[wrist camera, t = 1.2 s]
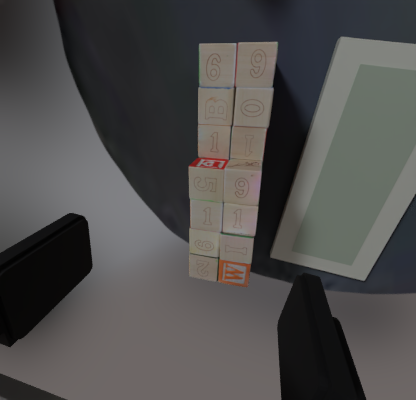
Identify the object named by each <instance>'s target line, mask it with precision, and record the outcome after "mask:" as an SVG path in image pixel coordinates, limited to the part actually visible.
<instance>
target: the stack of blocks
mask: <svg viewBox="0 0 416 400" xmlns="http://www.w3.org/2000/svg"><path fill="white" fill-rule="evenodd" d="M277 49H278V42H239V43H218V44H199V88H198V123H199V124H198V155H199V158H197V159H196V160H195V161H194V162H193V163H192V164H191V165H190V166H189V198H190V229H189V238H190V254H189V276H190V277H195V278H200V279H205V280H210V281H214V282H216V281H218V282H221V283H225V284H231V285H236V286H242V287H248V284H249V275H250V268H251V263H252V253H253V243H254V236H255V235H256V226H257V217H258V205H259V197H260V186H261V177H262V164H263V156H264V149H265V142H266V135H267V128H268V127H269V123H270V116H271V109H272V101H273V93H274V88H273V80H274V74H275V67H276V61H277V54H278V50H277Z"/></svg>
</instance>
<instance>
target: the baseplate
mask: <svg viewBox="0 0 416 400" xmlns="http://www.w3.org/2000/svg"><path fill="white" fill-rule="evenodd" d="M415 194H416V44H407V43H397V42H387V41H378V40H368V39H358V38H348V37H340V38H339V39H338V40H337V43H336V46H335V49H334V52H333V56H332V59H331V62H330V65H329V68H328V71H327V74H326V78H325V81H324V84H323V87H322V90H321V93H320V97H319V100H318V103H317V106H316V109H315V112H314V115H313V119H312V122H311V125H310V128H309V131H308V134H307V138H306V141H305V144H304V147H303V150H302V153H301V156H300V160H299V163H298V166H297V169H296V172H295V175H294V179H293V182H292V185H291V188H290V191H289V194H288V197H287V201H286V204H285V207H284V210H283V213H282V216H281V220H280V223H279V226H278V229H277V232H276V235H275V239H274V242H273V245H272V248H271V251H270V257H271V258H275V259H279V260H283V261H286V262H290V263H294V264H298V265H302V266H306V267H310V268H314V269H318V270H322V271H326V272H330V273H334V274H338V275H342V276H346V277H350V278H354V279H358V280H362V281H365V279H366V277H367V276H368V274H369V272H370V271H371V269H372V267H373V265H374V264H375V262H376V260H377V259H378V257H379V255H380V254H381V252H382V250H383V248H384V247H385V245H386V243H387V242H388V240H389V238H390V236H391V235H392V233H393V231H394V230H395V228H396V226H397V224H398V223H399V221H400V219H401V218H402V216H403V214H404V212H405V211H406V209H407V207H408V206H409V204H410V202H411V201H412V199H413V197H414V195H415Z"/></svg>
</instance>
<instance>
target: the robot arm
mask: <svg viewBox="0 0 416 400" xmlns="http://www.w3.org/2000/svg"><path fill="white" fill-rule="evenodd" d="M91 269H92V255H91V246H90V237H89V229H88V222H87V220H86V219H85V217H84V216H82V215H78V214H74V213H69V214H67V215H65V216H63V217H62V218H60V219H58V220H57V221H55V222H53V223H51V224H50V225H48V226H46V227H44V228H43V229H41V230H39V231H38V232H36V233H34V234H33V235H31V236H29V237H27V238H25V239H24V240H22V241H20V242H18V243H17V244H15V245H13V246H12V247H10V248H8V249H6V250H5V251H3V252H1V253H0V344H3V345H6V346H8V347H11V346H12V345H13V344H14V343H15V342H16V341H17V340H18V339H21V338H23V337H24V336H26V335H27V334H28V333H29V332H30V331H31V330H32V329H33V328H34V327H35V326H36V325H37V324H38V323H39V322H40V321H41V320H42V319H43V318H44V317H45V316H46V315H47V314H48V313H49V312H50V311H51V310H52V309H53V308H54V307H55V306H56V305H57V304H58V303H59V302H60V301H61V300H62V299H63V298H64V297H65V296H66V295H67V294H68V293H69V292H70V291H71V290H72V289H73V288H74V287H76V285H78V284H79V283H80V282H81V281H82V280H83V279H84V278H85V276H87V275H88V274H89V273H90V271H91ZM277 330H278V348H279V365H280V383H281V398H282V399H281V400H366V397H365V394H364V391H363V388H362V385H361V382H360V379H359V377H358V374H357V371H356V368H355V365H354V362H353V359H352V356H351V353H350V350H349V347H348V344H347V341H346V338H345V335H344V332H343V330H342V327H341V324H340V322H339V320H338V319H337V318H334V317H332V315H331V311H330V308H329V305H328V302H327V298H326V295H325V292H324V289H323V286H322V282H321V279H320V277H318V276H315V275H311V274H307V273H303V274H302V275H301V276H300V275H297V276H296V279H295V281H294V283H293V286H292V288H291V291H290V293H289V296H288V298H287V301H286V303H285V305H284V308H283V310H282V313H281V315H280V318H279V320H278V327H277ZM0 400H66V399H64V398H61V397H59V396H56V395H54V394H51V393H49V392H46V391H44V390H41V389H39V388H36V387H34V386H31V385H28V384H26V383H23V382H21V381H18V380H15V379H13V378H10V377H8V376H5V375H3V374H0Z"/></svg>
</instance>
